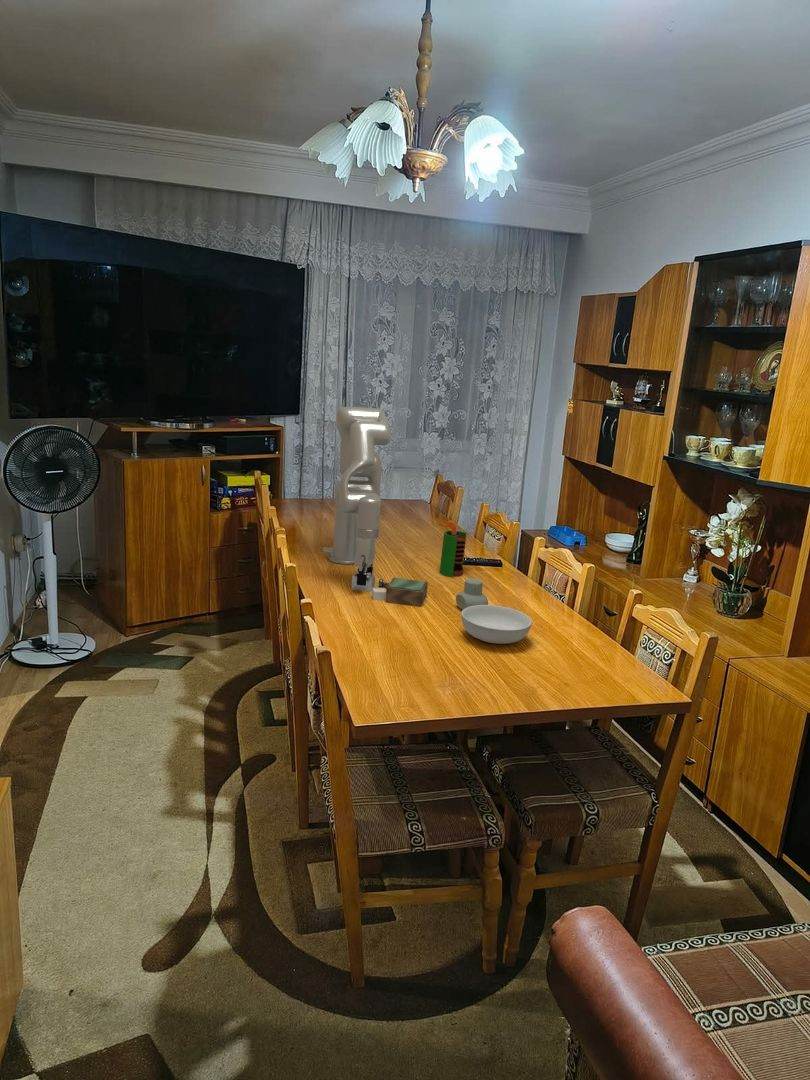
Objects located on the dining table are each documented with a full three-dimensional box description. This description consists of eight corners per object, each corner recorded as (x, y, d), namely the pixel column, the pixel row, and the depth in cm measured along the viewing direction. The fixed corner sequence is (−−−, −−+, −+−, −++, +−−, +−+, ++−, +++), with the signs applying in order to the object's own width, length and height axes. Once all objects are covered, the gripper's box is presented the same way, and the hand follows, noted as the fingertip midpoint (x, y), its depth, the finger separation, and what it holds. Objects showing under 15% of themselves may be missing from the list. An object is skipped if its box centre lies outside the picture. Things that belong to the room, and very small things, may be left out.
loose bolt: (378, 587, 261) (379, 580, 260) (380, 584, 264) (380, 578, 263) (395, 589, 260) (395, 582, 259) (396, 587, 263) (397, 580, 262)
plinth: (385, 602, 246) (386, 586, 245) (392, 591, 258) (393, 576, 256) (421, 606, 244) (422, 591, 243) (426, 595, 256) (427, 581, 255)
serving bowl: (484, 655, 209) (486, 632, 207) (446, 629, 227) (448, 607, 225) (543, 647, 218) (546, 625, 217) (502, 622, 236) (505, 602, 235)
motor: (461, 578, 279) (466, 526, 274) (437, 575, 281) (442, 523, 276) (464, 571, 289) (469, 521, 284) (441, 568, 290) (446, 518, 286)
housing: (351, 589, 256) (352, 573, 255) (354, 585, 261) (355, 569, 260) (371, 592, 255) (372, 575, 254) (374, 588, 260) (375, 571, 259)
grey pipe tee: (452, 604, 249) (455, 576, 247) (474, 603, 252) (477, 575, 250) (467, 616, 239) (470, 586, 237) (489, 614, 243) (493, 585, 240)
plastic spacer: (373, 600, 247) (374, 592, 246) (371, 596, 251) (372, 588, 250) (385, 600, 248) (386, 592, 247) (383, 596, 252) (384, 588, 251)
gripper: (362, 527, 262) (359, 573, 266) (350, 537, 245) (347, 586, 249) (383, 529, 261) (380, 576, 265) (372, 539, 244) (369, 589, 248)
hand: (364, 581), depth 257 cm, fingers open, 9 cm apart
